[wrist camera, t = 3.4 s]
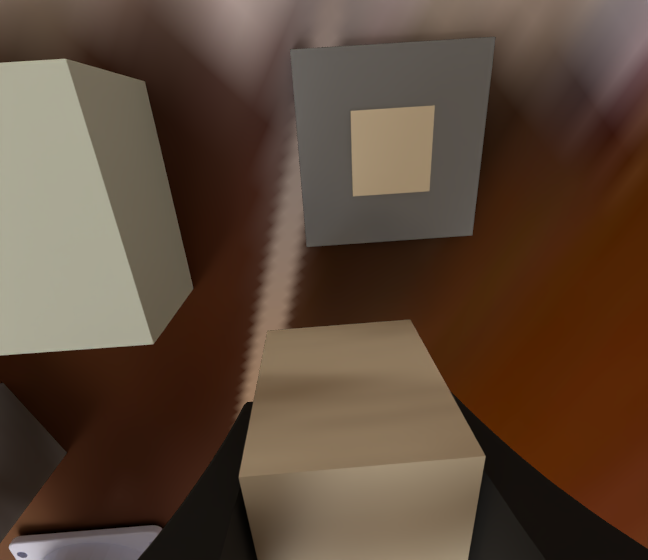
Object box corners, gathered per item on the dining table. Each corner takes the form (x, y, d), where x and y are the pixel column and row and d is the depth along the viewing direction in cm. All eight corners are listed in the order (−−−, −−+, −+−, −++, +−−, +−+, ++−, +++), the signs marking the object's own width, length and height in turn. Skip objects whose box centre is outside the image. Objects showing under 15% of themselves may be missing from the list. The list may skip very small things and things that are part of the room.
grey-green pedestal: (195, 286, 14) (153, 344, 10) (15, 298, 14) (-94, 362, 10) (148, 82, 11) (65, 58, 7) (-80, 96, 11) (-283, 80, 7)
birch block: (405, 426, 13) (462, 593, 8) (283, 436, 13) (269, 611, 8) (410, 319, 11) (485, 455, 6) (267, 330, 11) (239, 477, 6)
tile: (467, 232, 13) (473, 235, 12) (306, 243, 13) (306, 247, 12) (488, 39, 10) (497, 35, 10) (290, 52, 10) (289, 48, 10)
